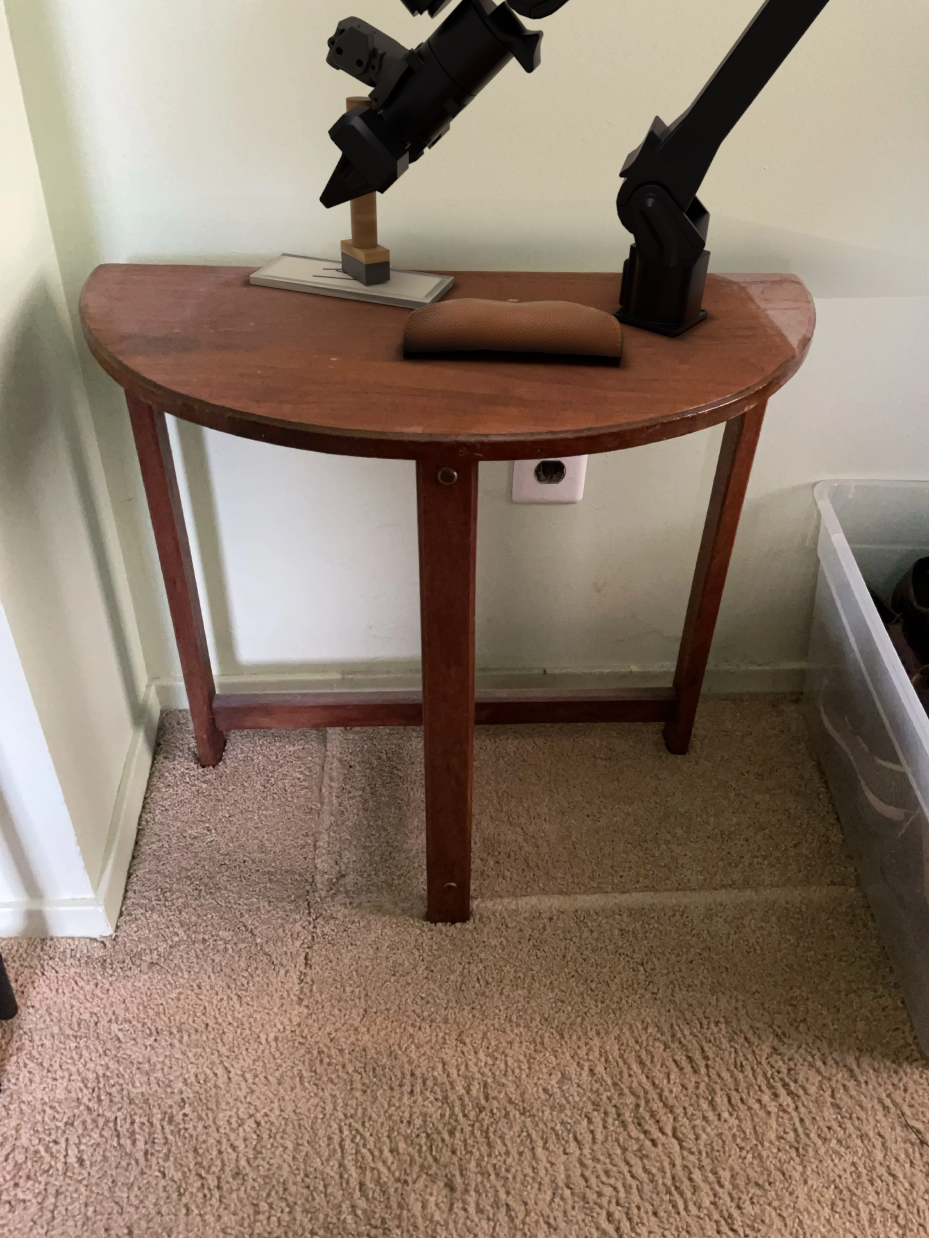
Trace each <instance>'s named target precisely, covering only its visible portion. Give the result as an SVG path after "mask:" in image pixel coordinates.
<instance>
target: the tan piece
mask: <svg viewBox="0 0 929 1238" xmlns="http://www.w3.org/2000/svg"><path fill="white" fill-rule="evenodd" d="M355 106H365V107H371V108H372V109H373V110H374V103H373V102H372V100H371V99H370V98H369V97H368V96H363V95H356V96H355V95H354V96H348V97H345V113H346V112H347V111H349V110H350V109H352V108H353V107H355ZM377 202H378V201H377V191H375V192H373V193H370V194H367V195H364V196H361V197H359V198H356V199H353V200H350V201H349V210H350V211H349V213H350V231H351V232H350V234H351V238H349V239H341V240H340V241H339V243H340V258H341V260H340V261H341V262H342V271H344V272H346V273H348V274H349V275H351V276H353V277H354V278H356V279H358V280H360V281H361V282H363V283H365V284H371V283H377V282H383V281H389V280H390V268H391V251H390V249H389V248H388V247H387V248H386V247H385V246H383V245H381V244H379V243H378V206H377Z"/></svg>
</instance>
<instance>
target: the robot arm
mask: <svg viewBox="0 0 929 1238" xmlns="http://www.w3.org/2000/svg"><path fill="white" fill-rule="evenodd" d="M399 1H400V2H401V4H402V5H403V6H404V7H405V9H406V10H407V11H408V12H409V14H410V15H411V16H412V17H413V18H415V17H417V16H418V15H420V16H423V15H424V14H425V13H427V16H428V17H430V19H431V20H433V19H435V18H436V17H438V15H440V14H441V13H442V12H443V10H445V9H446V7H448V6H449V4H451V2H452V1H453V0H399ZM570 1H571V0H503V1H502V2H501V3H499V4H497V3H496V2H495V1H494V0H461V1H459V3H458V4H457V5H456V6H455V7H454V8H453V10H452V11H451V12H450V13H449V14H448V16H446V18H444V20H443V21H442V22H441V23H440V24H439V25H438V26H437V28H436V29H435V30H434V31H433V32H432V33H431V34H430V35H429V36H428V37H427V39H426V40H425V41H422V42H420V43H419V44H418V45H416V47H415V48H414V47H411V48H409V49H408V48H407V47H405V46H404V45H402V44H401V43H400V42H399V41H398V40H397V39H394V38H393V37H392V36H390V35H388V34H387V33H385V32H383V31H382V30H380V29H379V28H377V27H375V26H374V25H372V24H371V23H369V22H367V21H365V20H363V19H361V18H360V17H357V16H353V15H350V16H347V17H345V18H344V19H340V20H339V21H338V22H337V25H336V28H335V31H334V33H333V34H332V36H330V37H328V39H327V41H326V43H327V44H326V45H327V47H328V51H327V55H326V58H325V62H326V64H328V66H329V67H331V68H333V69H334V70H336V71H342V72H343V73H346V74H347V75H349V76H351V77H352V78H354V79H356V80H357V81H359V82H361V83H362V84H364V85H365V86H368V87H370V88H373V89H372V90H371V91H370V92H369V94H367V97H369V98H370V99H371V100H372V102H373V103H374V110H373V109H372V108H371V107H365V106H355V107H353V108H352V109H350V110H349V111H347V112H346V111H345V112H344V113H343V114H341V116H340V117H339V118H338V119H337V120H336V121H335V122H334V124H332V126H331V127H330V128H329V129H328V131H327V133H328V136H329V139H330V141H332V143H333V144H334V145H335V146H336V147H337V148H338V149H339V151H340V152H341V155H340V157H339V159H338V161H337V164H336V165H335V167H334V169H333V171H332V173H331V175H330V177H329V179H328V180H327V183H326V184H325V186H324V189H323V190H322V192H321V194H320V196H319V197H318V199H319V203H320V204H322V206H323V207H324V208H325V209H327V210H328V209H332V208H334V207H337V206H339V205H342V204H345V203H348V202H350V200H353V199H356V198H359V197H361V196H364V195H367V194H370V193H373V192H375V191H376V193H379V194H381V195H383V194H385V193H386V192H387V191H388V190H389V189H390V188H391V187H392V186H393V185H394V184H395V183H397V181H398V180H399V179H400V178H401V177H402V176H403V175H404V174H405V173H406V172H407V171H408V170H409V168H410V165H411V164H413V163H416V162H417V161H419V160H420V158H422V157H423V156H424V155H425V151H424V150H426V149H428V150H431V149H432V148H433V147H435V145H437V144H438V143H439V141H441V139H442V138H443V137H444V136H446V134H448V132H449V131H450V130H451V123H452V122H453V121H454V120H455V119H456V117H458V116H459V115H460V113H462V112H463V111H464V110H465V109H466V108H467V107H468V106H469V105H470V104H471V103H472V102H473V101H474V100H475V98H476V97H477V96H478V95H479V94H480V93H481V91H483V90H484V89H485V87H487V85H488V84H490V83H491V82H492V80H494V78H495V77H496V76H497V75H498V74H499V73H500V72H501V71H502V70H503V69H504V68H505V67H506V66H507V65H508V64H509V63H510V62H511V60H513V58H514V59H515V60H516V62H517V63H518V64H519V66H520V67H521V68H522V69H523V71H524V72H525V73H526V74H532V73H534V71H536V69H537V68H539V66H540V65H541V64H542V59H541V55H542V54H541V48H542V47H541V46H542V41H543V38H544V35H545V33H544V31H543V30H541V29H537V30H534V29H528V28H527V27H526V26H525V24H524V23H523V22H522V20H521V19H520V18H519V17H518V15H519V16H522V17H524V18H526V19H529V20H534V21H535V20H542V19H545V18H547V17H549V16H552V15H554V14H555V13H556V12H558V11H559V10H560V9H561V8H562V7H564V6H565V5H567V3H569V2H570ZM829 2H830V0H764V2H762V4H761V6H759V8H758V10H756V12H755V14H754V15H753V17H752V18H751V19H750V21H749V22H748V24H747V25H746V26H745V28H744V29H743V30H742V32H741V33H740V35H739V36H738V38H737V39H736V41H735V42H734V43H733V45H732V46H731V47H730V49H729V50H728V52H726V54H725V56H724V57H723V59H722V60H721V61H720V63H719V64H718V65H717V67H716V68H715V70H714V71H713V72H712V74H711V75H710V77H709V78H708V79H707V80H706V82H705V84H704V85H703V87H702V88H701V90H700V91H699V92H698V94H697V95H696V96H695V97H694V99H693V100H692V102H691V103H690V105H689V106H688V107H687V108H686V109H685V110H684V111H683V112H682V113H681V114H680V115H679V116H677V117H676V118H675V119H674V120H673V121H672V122H671V123H669V125H667V124H666V123H665V121H664V120H663V119H662V118H661V117H660V116H659V115H655V116H654V118H653V120H652V122H651V124H650V126H649V128H648V130H647V133H646V134H645V137H644V138H643V140H642V141H641V143H640V144H639V145H638V146H637V147H636V148H635V149H633V150H631V151H630V152H629V153H628V154H627V156H626V157H625V160H624V162H623V164H622V167H621V168H620V170H619V174H618V177H619V178H620V179H622V182H621V184H620V187H619V189H618V192H617V195H616V199H615V207H616V214H617V217H618V219H619V221H620V224H621V225H622V226H623V228H624V229H625V230H626V231H627V232H628V233H629V234H631V235H633V239H634V242H632V243H630V245H629V252H628V258H626V259H624V260H623V262H622V263H623V264H622V272H621V280H620V288H619V297H618V305H619V306H620V307H619V308H618V309H615V310H614V311H613V312H612V315H613V316H614V317H615V318H617V320H618V321H621V322H625V323H627V324H631V325H635V326H637V327H641V328H644V329H647V330H651V331H655V332H658V333H662V334H665V335H668V336H678V335H680V334H681V333H683V332H684V331H686V330H687V329H690V328H691V327H692V326H694V325H696V324H697V323H698V322H700V321H702V320H703V319H705V318H707V317H708V315H709V310H708V309H706V308H702V304H703V297H704V292H705V287H706V282H707V281H706V280H707V275H708V270H709V264H710V259H711V251H710V250H707V249H705V248H706V245H707V238H708V233H709V225H710V218H711V213H710V211H709V210H708V209H707V208H706V206H705V205H704V204H703V202H702V201H701V199H700V198H699V197H698V196H697V194H698V192H699V189H700V187H701V186H702V183H703V181H704V179H705V177H706V175H707V174H708V171H709V169H710V167H711V165H712V164H713V161H714V159H715V157H716V155H717V153H718V150H719V149H720V147H721V145H722V143H723V142H724V140H725V139H726V138H727V137H728V136H729V134H730V133H731V131H732V130H733V129H734V127H735V126H736V125H737V124H738V122H740V120H741V118H742V117H743V115H744V114H745V113H746V111H748V109H749V108H750V106H751V105H753V102H754V101H755V100H756V98H757V97H758V96H759V94H760V93H761V92H762V90H763V89H764V88H765V87H766V85H767V84H768V82H769V81H770V80H771V79H772V77H773V76H774V75H775V74H776V72H777V70H779V68H780V66H782V64H783V63H784V61H785V60H786V59H787V58H788V56H789V55H790V53H792V51H793V49H794V48H795V47H796V45H797V44H798V43H799V41H801V39H802V38H803V36H804V35H805V34H806V33H807V31H808V30H809V28H810V27H811V26H812V24H813V23H814V22H815V20H816V19H817V18H818V17H819V15H820V14H821V12H822V11H823V10H824V8H825V7H826V6H827V5H828V3H829ZM517 14H518V15H517Z"/></svg>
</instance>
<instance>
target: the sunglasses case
mask: <svg viewBox="0 0 929 1238" xmlns="http://www.w3.org/2000/svg"><path fill="white" fill-rule="evenodd" d="M623 333H624V332H623V328H622V325H621V322H620V320H618V319H617V318H615V317H614V316H613V314H611V313H610V312H607V311H604V310H601V309H599V308H596V307H592V306H589V305H586V304H583V303H582V304H581V303H579V302H578V303H577V302H571V301H565V300H536V301H521V300H520V299H516V298H509V299H507V300H506V301H504V300H496V299H488V298H487V299H485V298H475V297H463V298H454V299H449V300H443V301H439V302H438V301H437V302H436V303H434V304H431V305H428V306H425V307H421V308H418V309H413V311H412V312H410V314H409V315H408V316H407V318H406V320H405V323H404V326H403V336H402V337H403V338H402V355H404V354H406V355H407V354H408V352H409V353H423V352H424V353H425V352H426V353H434V352H437V353H438V352H457V351H464V352H470V351H479V350H480V351H481V350H490V351H502V352H513V353H532V352H534V353H535V352H538V353H544V354H553V355H556V354H557V355H581V356H602V357H609V358H616V357H617V358H616V359H617V361H619V363H622V356H623V349H624V348H623V347H624V334H623Z"/></svg>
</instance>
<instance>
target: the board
mask: <svg viewBox="0 0 929 1238" xmlns="http://www.w3.org/2000/svg"><path fill="white" fill-rule="evenodd" d="M249 281H250V285H256V286H264V287H269V288H276V289H283V290H290V291H296V292H301V293H309V294H316V295H322V296H328V297H334V298H335V297H336V298H340V299H341V298H342V299H349V300H355V301H362V302H367V303H368V302H369V303H375V304H380V305H388V306H394V307H401V308H409V309H413V310H416V309H418V308H421V307H425V306H428V305H431V304H434V303H438V301H439V300H440V299H441V298H443V296H444V295H445V294H446V293H447V292H449V290H450V289H451V288H452V287H453V286H454V276H451V275H441V274H436V273H427V272H420V271H414V270H407V269H406V270H405V269H399V268H393V267H390V280H389V281H383V282H377V283H371V284H365V283H363V282H361V281H360V280H358V279H356V278H354V277H353V276H351V275H349V274H348V273H346V272H344V271H342V262H341V260H336V259H329V258H322V257H316V256H308V255H300V254H293V253H286V252H283V253H281V254H279V255H278V256H277V257H275V258H274V259H272V260H270V261H269V262H268V263H267V264H265V265H263V266H262V267H261V268H259V269H258V270H256V271H255V272H253V273H251V274H250V275H249Z"/></svg>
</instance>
